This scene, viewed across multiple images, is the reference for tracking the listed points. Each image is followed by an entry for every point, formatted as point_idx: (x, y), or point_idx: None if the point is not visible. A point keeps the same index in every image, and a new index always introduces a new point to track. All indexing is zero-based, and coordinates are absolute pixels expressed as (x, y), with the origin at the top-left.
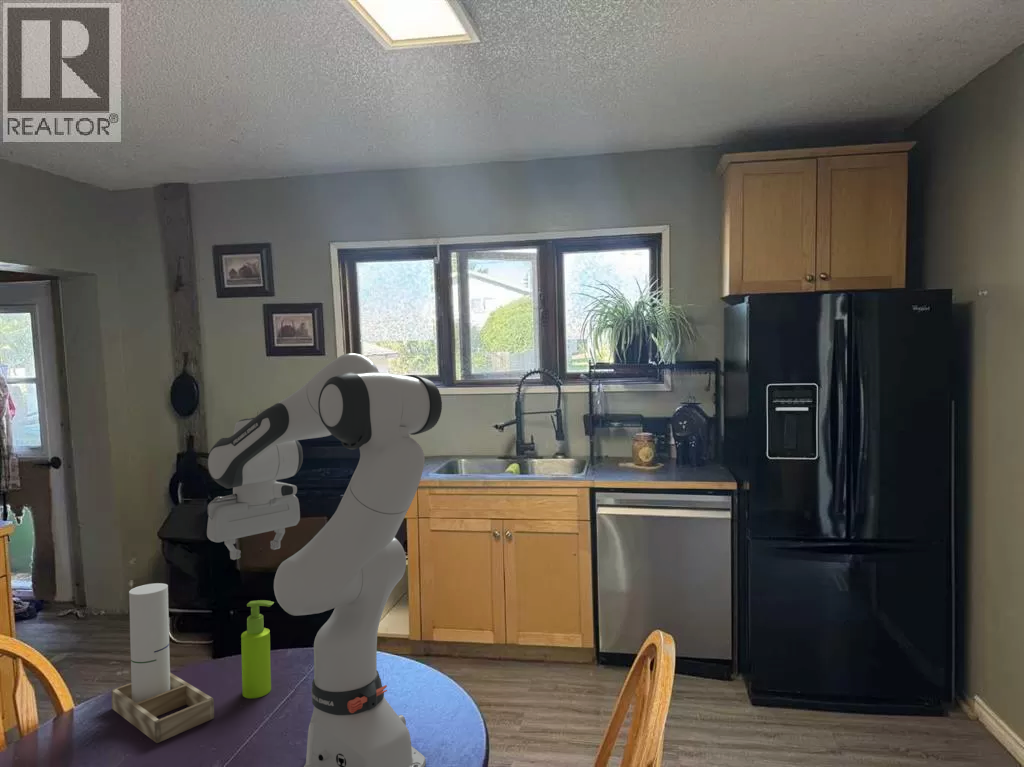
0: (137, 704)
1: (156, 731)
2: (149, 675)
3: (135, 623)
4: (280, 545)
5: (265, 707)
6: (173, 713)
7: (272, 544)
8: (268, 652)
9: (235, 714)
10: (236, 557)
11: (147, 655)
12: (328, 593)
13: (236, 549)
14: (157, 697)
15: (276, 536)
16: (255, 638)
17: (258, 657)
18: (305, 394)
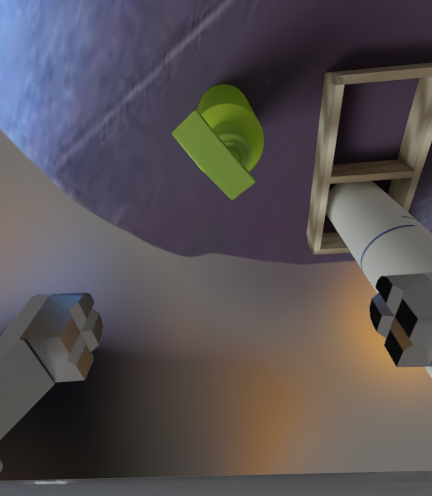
0: (415, 170)
1: None
2: (398, 205)
3: None
4: (23, 308)
5: (243, 27)
6: (416, 77)
7: (82, 341)
8: (206, 102)
9: (294, 52)
10: (427, 277)
11: (423, 226)
12: None
13: (409, 357)
14: (381, 172)
15: (11, 405)
16: (244, 107)
17: (234, 96)
18: None
